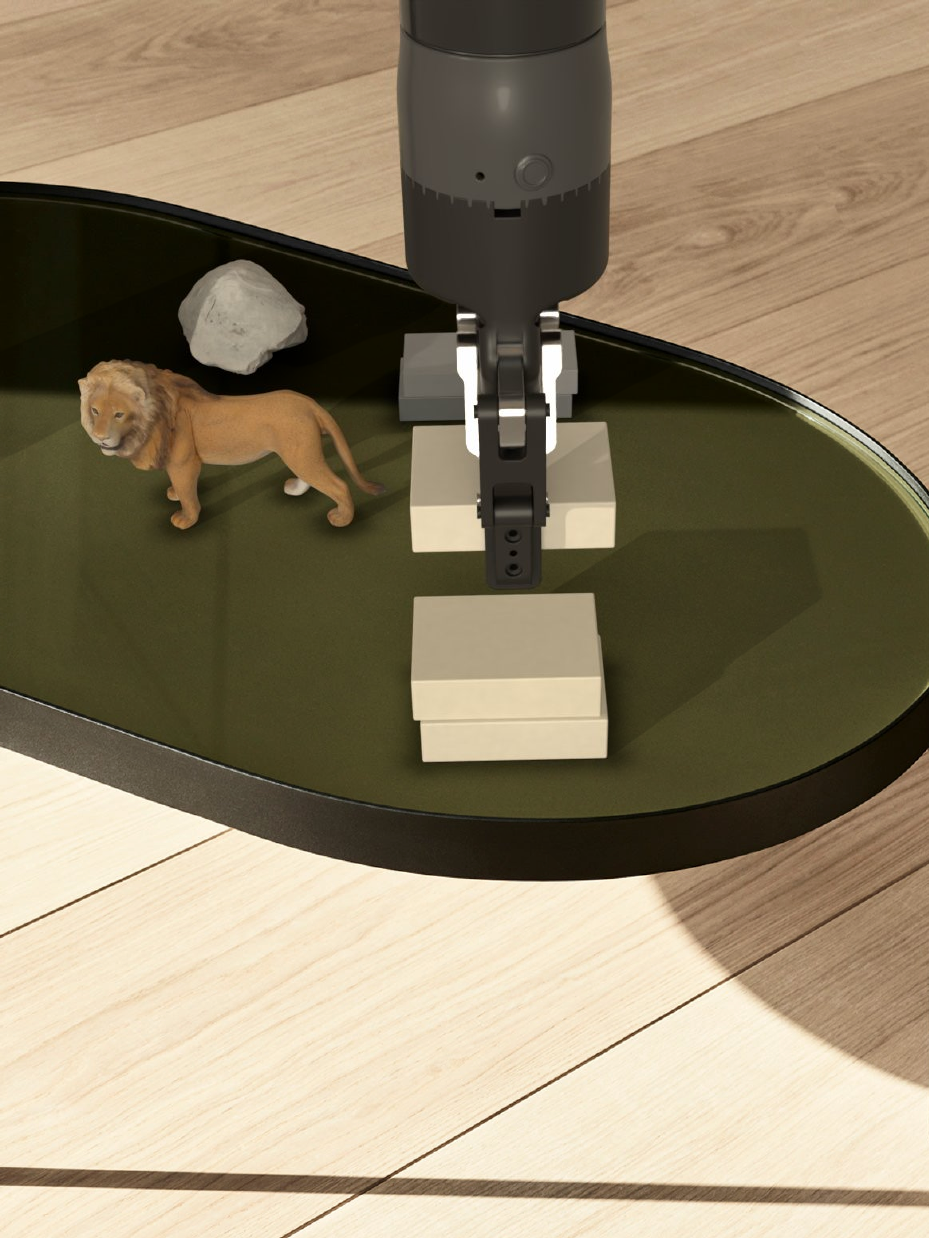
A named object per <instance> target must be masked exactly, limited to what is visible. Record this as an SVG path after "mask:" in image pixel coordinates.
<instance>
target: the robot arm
mask: <svg viewBox="0 0 929 1238" xmlns="http://www.w3.org/2000/svg"><path fill="white" fill-rule="evenodd" d="M398 12H399V13H398V14H399V16H398V17H399V22H400V24H399V47H398V49H399V50H398V59H397V60H398V61H397V69H396V111H397V131H398V147H399V149H398V150H399V167H400V185H401V198H402V199H401V202H402V215H403V216H402V221H403V237H404V258H405V264H406V268H407V271H408V274H409V275H410V277H411V279H412V280H413V281H414V282H415V283H416V285H417V286H419V287H420V288H421V289H422V290H423V291H425V292H426V293H427V294H429V295H431V296H432V297H433V298H436V299H438V300H441V301H443V302H445V303H448V304H453V305H455V304H456V329H457V330H456V332H455V333H456V338H457V370H458V374H459V375H460V377H461V378H462V379H463V381H464V385H465V420H464V421H465V425H466V445H467V448H468V450H469V451H470V452H471V453H472V454H474V455H476V456H477V457H478V458H479V470H480V493H477V519H481V528H485V551H484V557H485V560H484V561H485V583H486V585H487V586H488V587H489V588H490V589H492V590H494V591H517V590H520V591H523V590H533V589H536V588H538V587H539V586H540V585H541V583H542V579H543V574H542V573H543V572H542V568H543V567H542V560H543V559H542V557H543V556H542V549H541V527H546V517H550V504H548V491H546V454H548V453H550V452H551V451H552V450H553V449H554V448H555V446H556V443H557V431H556V423H557V418H556V378H557V377H558V376H559V374H560V373H561V370H562V335H561V331H562V329H561V328H560V303H561V302H568V301H570V300H573V299H574V298H576V297H579V296H580V295H582V294H584V293H585V292H587V291H588V290H590V289H591V288H592V287H593V286H595V284H597V283H598V282H599V280H600V279H601V278H602V276H603V275H604V273H605V271H606V269H607V267H608V265H609V264H608V263H609V259H610V220H611V219H610V217H611V216H610V215H611V213H610V212H611V176H612V175H611V173H612V170H611V169H612V166H611V165H612V124H613V123H612V122H613V121H612V119H613V82H612V81H613V80H612V69H611V64H610V63H611V62H610V55H609V44H608V33H607V0H398ZM540 386H541V388H542V393H541V391H540ZM478 389H479V392H478ZM498 425H499V431H498ZM525 425H526V431H525Z"/></svg>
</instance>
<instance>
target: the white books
mask: <svg viewBox="0 0 929 1238" xmlns="http://www.w3.org/2000/svg"><path fill="white" fill-rule="evenodd" d="M596 608H597V607H596V598H595V593H594V592H571V593H568V592H567V593H525V594H522V593H521V594H520V593H519V594H518V593H517V594H477V595H429V596H423V595H422V596H414V598H413V613H412V614H413V617H412V639H411V640H412V641H411V642H412V643H411V669H410V670H411V671H410V673H411V675H410V688H411V690H410V691H411V703H412V704H411V706H412V719H413V721H420V723H419V724H420V725H419V728H420V743H421V744H420V745H421V760H422V762H423V763H436V762H437V763H438V762H439V763H440V762H441V763H444V762H445V763H446V762H485V761H486V762H487V761H488V762H489V761H491V762H492V761H531V760H533V761H534V760H536V761H537V760H573V759H574V760H577V759H579V760H582V759H606V758H607V757H608V742H609V739H608V738H609V713H608V704H607V703H608V702H607V693H606V692H607V691H606V683H605V672H604V661H603V650H602V639H601V635H600V634H599V632H598V631H599V630H598V621H597V619H598V618H597V610H596Z"/></svg>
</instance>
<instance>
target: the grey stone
mask: <svg viewBox="0 0 929 1238" xmlns="http://www.w3.org/2000/svg"><path fill="white" fill-rule="evenodd" d="M305 311H306V308H305V306H304V305H303V304H301V303H299V302H298V301H297V300H296V299H295V298H294V297H293V295H291V293H289V292H288V291H287V289H286V288H285V286H284V285H283V284H282V283H280V282H279V281H278V279H276V278H275V277H273V275H272V274H271V273H270V272H269V271H267V270H266V269H265V268H264V267H263V266H261V265H259V264H257V263H255V262H253V261H251V260H246V259H236V260H235V261H229V262H228V263H225V264H222V265H219V266H217V267H215V268H214V269H212V270H209V271H208V272H206V273H205V274H204V276H203V277H201V278H200V279H198V280H197V282H195V283H194V285H193V286H192V288H191V290H190V291H189V293H188V294H187V295H186V297H185V298H184V299H183V300H182V301H181V304H180V306H179V308H178V313H177V317H178V321H179V322H180V325H181V327H182V331H183V336H184V337H185V338H186V341H187V343H188V344H189V349H190V353H191V356H192V357H193V358H194V359H195V360H197V361H198V362H199V363H201V364H202V365H205V366H208V367H217V368H220V369H222V370H224V371H226V372H230V373H231V372H232V373H236V374H237V375H239V374H240V375H244V376H246V375H250V374H253V373H255V372H256V371H257V369H259V368H260V367H262V366H263V365H265V364H266V363H268V362H269V361H270V360H271V359H272V358H273V353H275V352H278V351H281V350H283V349H288V348H293V347H296V346H299V345H301V344H303V343H304V342H305V341H306V340H307V337H308V326H307V317H306V314H305Z"/></svg>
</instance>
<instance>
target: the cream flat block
mask: <svg viewBox="0 0 929 1238" xmlns="http://www.w3.org/2000/svg"><path fill="white" fill-rule="evenodd" d="M498 431H499V425H498ZM525 431H526V425H525ZM556 431H557V443H556V446H555V448H554V449H553V450H552V451H551V452H550V453H548V454H546V491H548V504H550V517H546V527H541V550H568V549H569V550H572V549H573V550H574V549H576V550H577V549H613V548H615V546H616V522H617V521H616V520H617V519H616V518H617V499H616V489H615V482H614V474H613V465H612V464H613V463H612V457H611V456H612V455H611V448H610V439H609V431H608V423H607V421H585V422H584V421H582V422H581V421H579V422H577V421H576V422H556ZM411 443H412V444H411V445H412V447H411V467H410V468H411V472H410V499H409V514H410V532H411V550H412V552H413V553H445V552H446V553H447V552H485V528H481V519H477V493H480V470H479V458H478V457H477V456H476V455H474V454H472V453H471V452H470V451H469V450H468V448H467V445H466V424H451V425H448V424H447V425H414V426H413V428H412V441H411Z"/></svg>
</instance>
